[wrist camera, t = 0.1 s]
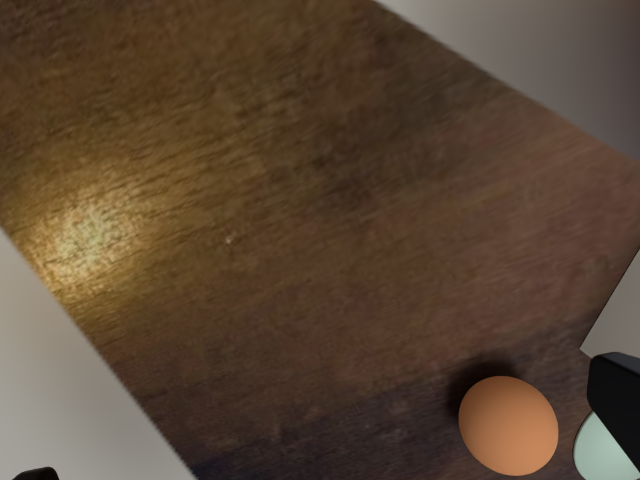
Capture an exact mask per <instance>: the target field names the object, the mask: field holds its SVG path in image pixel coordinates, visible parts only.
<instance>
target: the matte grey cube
mask: <svg viewBox="0 0 640 480" xmlns="http://www.w3.org/2000/svg"><path fill="white" fill-rule="evenodd" d="M580 350H581V351H582V352H584V353H585V354H587V355H588V356H589V357H591V358H593V357H594V356H596V355H599V354H604V353H609V352H621V353H624V354H628V355H631V356H634V357H638V358H640V249H639V251H638V252H637V254H636V256H635V257H634V259H633V261H632V262H631V264H630V266H629V267H628V269H627V271H626V272H625V274H624V276H623V277H622V279H621V281H620V282H619V284H618V286H617V287H616V289H615V291H614V292H613V294H612V296H611V297H610V299H609V301H608V302H607V304H606V305H605V307H604V309H603V310H602V312H601V314H600V315H599V317H598V319H597V320H596V322H595V324H594V325H593V327H592V329H591V330H590V332H589V334H588V335H587V337H586V339H585V340H584V342H583V344H582V345H581V347H580Z"/></svg>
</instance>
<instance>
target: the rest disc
mask: <svg viewBox="0 0 640 480" xmlns="http://www.w3.org/2000/svg"><path fill="white" fill-rule="evenodd" d="M573 459H574V463H575V466H576V468H577V470H578V471H579V473H580V474H581V475H582V476H583V477H584V478H585V479H586V480H636V479H638V478H640V473H639V471H638V470H637V469H636V467H635V466H634V465H633V463H632V462H631V461H630V459H629V458H628V457H627V455H626V454H625V453H624V451H623V450H622V449H621V447H620V446H619V445H618V443H617V442H616V441H615V439H614V438H613V437H612V435H611V434H610V433H609V431H608V430H607V429H606V427H605V426H604V425H603V423H602V422H601V421H600V419H599V418H598V417H597V415H596V414H595V413H594V411H592V412H591V413H590V414H589V415H588V417H587V418H586V419H585V421H584V422H583V424H582V426H581V427H580V429H579V431H578V433H577V436H576V439H575V442H574V447H573Z"/></svg>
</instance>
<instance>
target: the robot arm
mask: <svg viewBox="0 0 640 480" xmlns="http://www.w3.org/2000/svg"><path fill="white" fill-rule="evenodd" d="M587 399H588V402H589V405H590V407H591V408H592V410H593V411H594V413H595V414H596V415H597V417H598V418H599V419H600V421H601V422H602V423H603V425H604V426H605V427H606V429H607V430H608V431H609V433H610V434H611V435H612V437H613V438H614V439H615V441H616V442H617V443H618V445H619V446H620V447H621V449H622V450H623V451H624V453H625V454H626V455H627V457H628V458H629V459H630V461H631V462H632V463H633V465H634V466H635V467H636V469H637V470H638V471H639V473H640V358H638V357H634V356H631V355H628V354H624V353H621V352H609V353H604V354H599V355H596V356H594V357H593V358H592V360H591V361H590V367H589V376H588V385H587ZM12 480H59V478H58V475H57V473H56V471H55V470H54V469H53V468H51V467H44V468H38V469H33V470H28V471H25V472H22V473H20V474H19V475H17V476H16V477H15V478H14V479H12Z"/></svg>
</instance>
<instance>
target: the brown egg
mask: <svg viewBox="0 0 640 480" xmlns="http://www.w3.org/2000/svg"><path fill="white" fill-rule="evenodd" d="M459 428H460V432H461V435H462V438H463V440H464V443H465V444H466V446H467V448H468V449H469V451H470V452H471V453H472V455H473V456H474V457H475V458H476V459H477V460H478V461H479V462H481V463H482V464H483V465H485V466H486V467H488V468H490V469H492V470H494V471H496V472H499V473H502V474H506V475H514V476H518V475H526V474H530V473H532V472H535V471H537V470H538V469H540V468H541V467H543V466H544V465H545V464H546V463H547V462H548V461H549V460H550V459H551V457H552V455H553V454H554V451H555V449H556V446H557V442H558V424H557V420H556V417H555V414H554V411H553V409H552V407H551V405H550V404H549V402H548V401H547V400H546V398H545V397H544V396H543V395H542V394H541V393H540V392H539V391H538V390H537V389H536V388H534V387H533V386H531V385H530V384H528V383H526V382H524V381H522V380H520V379H517V378H513V377H508V376H494V377H489V378H486V379H483V380H481V381H479V382H478V383H476V384H475V385H473V386H472V387H471V388H470V389H469V390H468V392H467V393H466V394H465V396H464V398H463V400H462V402H461V405H460V409H459Z"/></svg>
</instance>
